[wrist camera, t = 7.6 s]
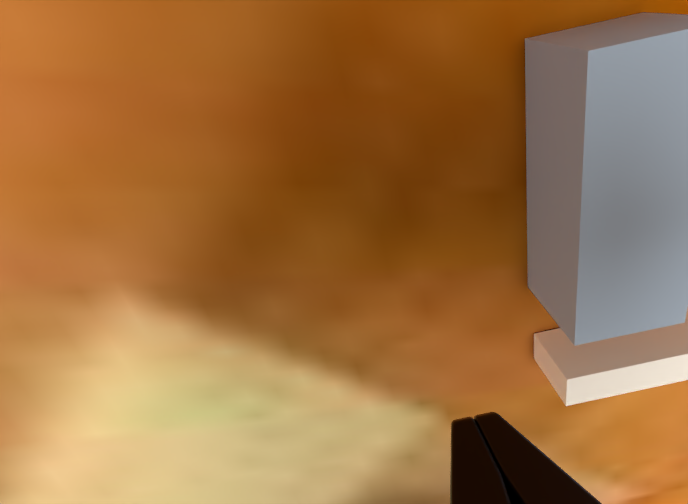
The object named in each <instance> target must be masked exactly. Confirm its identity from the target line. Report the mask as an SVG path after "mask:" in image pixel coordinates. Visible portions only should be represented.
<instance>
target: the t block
mask: <svg viewBox="0 0 688 504" xmlns="http://www.w3.org/2000/svg"><path fill="white" fill-rule="evenodd" d="M525 89H526V175H527V261H528V288H529V289H530V290H531V292H532V293H533V294H534V295H535V297H536V298H537V299H538V300H539V302H540V303H541V304H542V305H543V307H544V308H545V309H546V310H547V312H548V313H549V314H550V315H551V317H552V318H553V319H554V321H555V322H556V323H557V324H558V326H559V327H560V328H561V329H562V331H563V332H564V333H565V334H566V336H567V337H568V338H569V339H570V341H571V342H572V343H573V344H574V346H576V345H580V344H585V343H590V342H595V341H599V340H604V339H609V338H614V337H618V336H623V335H628V334H633V333H637V332H642V331H647V330H652V329H656V328H661V327H666V326H671V325H675V324H680V323H685V319H686V313H687V308H688V15H684V14H665V13H646V12H642V13H638V14H633V15H629V16H624V17H620V18H615V19H611V20H606V21H602V22H597V23H593V24H588V25H584V26H579V27H575V28H570V29H566V30H561V31H557V32H552V33H548V34H543V35H539V36H534V37H530V38H525Z"/></svg>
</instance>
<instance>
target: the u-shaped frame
mask: <svg viewBox="0 0 688 504" xmlns="http://www.w3.org/2000/svg"><path fill="white" fill-rule="evenodd" d="M534 359H535V361H536V362H537V364H538V365H539V367H540V368H541V370H542V371H543V373H544V374H545V376H546V377H547V379H548V380H549V382H550V383H551V385H552V386H553V388H554V389H555V391H556V392H557V394H558V395H559V397H560V398H561V400H562V401H563V403H564V404H565V405H566V406H569V405H573V404H578V403H583V402H587V401H592V400H597V399H601V398H606V397H611V396H615V395H620V394H624V393H629V392H634V391H638V390H643V389H648V388H652V387H657V386H662V385H666V384H671V383H675V382H680V381H685V380H688V308H687V313H686V319H685V323H680V324H675V325H671V326H666V327H661V328H656V329H652V330H647V331H642V332H637V333H633V334H628V335H623V336H618V337H614V338H609V339H604V340H599V341H595V342H590V343H585V344H580V345H576V346H574V344H573V343H572V342H571V341H570V339H569V338H568V337H567V336H566V334H565V333H564V332H563V331H562V329H561V328H557V329H553V330H548V331H544V332H539V333H534Z"/></svg>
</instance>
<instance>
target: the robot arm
mask: <svg viewBox="0 0 688 504" xmlns="http://www.w3.org/2000/svg"><path fill="white" fill-rule="evenodd" d="M450 504H601V503H600V502H599V501H598V500H597V499H596V498H595V497H593V496H592V495H591V494H590V493H589V492H588V491H586V490H585V489H584V488H583V487H582V486H581V485H580V484H578V483H577V482H576V481H575V480H574V479H573V478H571V477H570V476H569V475H568V474H567V473H566V472H565V471H563V470H562V469H561V468H560V467H559V466H558V465H556V464H555V463H554V462H553V461H552V460H551V459H550V458H548V457H547V456H546V455H545V454H544V453H543V452H541V451H540V450H539V449H538V448H537V447H536V446H534V445H533V444H532V443H531V442H530V441H529V440H528V439H526V438H525V437H524V436H523V435H522V434H521V433H519V432H518V431H517V430H516V429H515V428H514V427H513V426H511V425H510V424H509V423H508V422H507V421H506V420H504V419H503V418H502V417H501V416H500V415H499V414H497V413H495V412H489V413H484V414H480V415H476V416H475V417H474V419H473V418H472V417H466V418H461V419H457V420H453V421H452V423H451V476H450Z"/></svg>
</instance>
